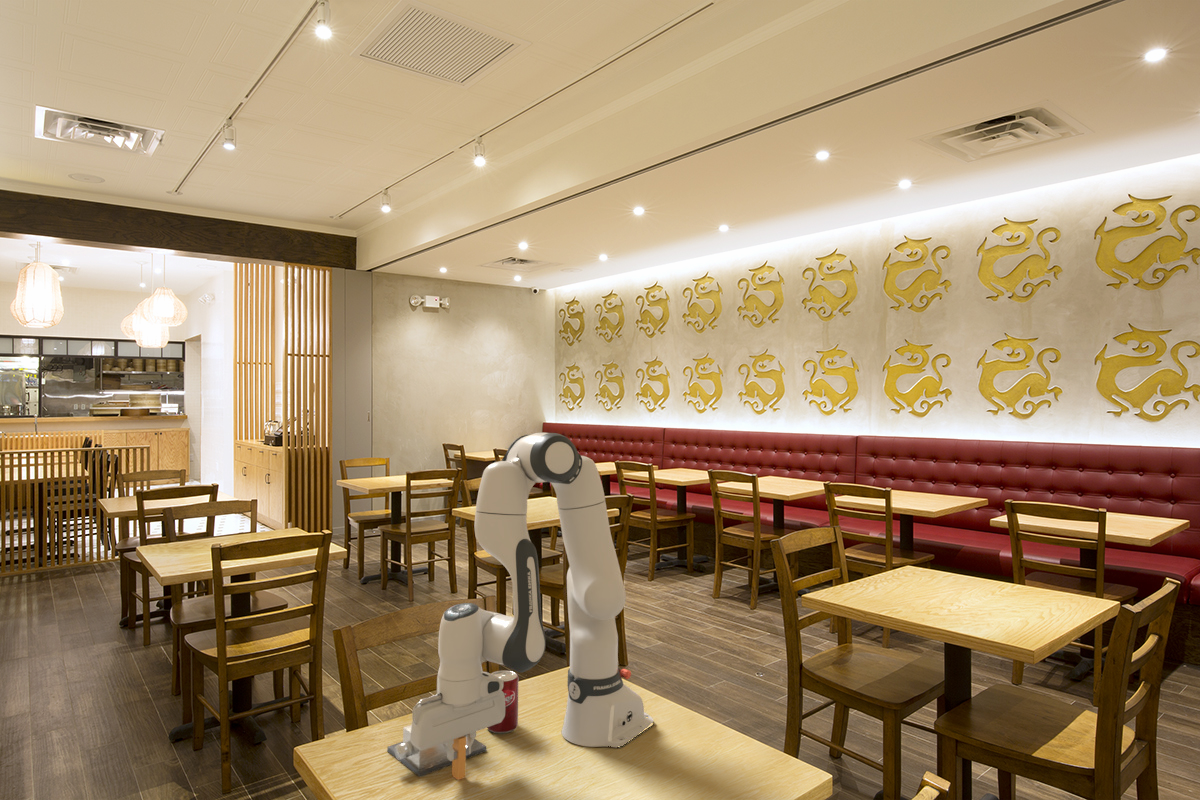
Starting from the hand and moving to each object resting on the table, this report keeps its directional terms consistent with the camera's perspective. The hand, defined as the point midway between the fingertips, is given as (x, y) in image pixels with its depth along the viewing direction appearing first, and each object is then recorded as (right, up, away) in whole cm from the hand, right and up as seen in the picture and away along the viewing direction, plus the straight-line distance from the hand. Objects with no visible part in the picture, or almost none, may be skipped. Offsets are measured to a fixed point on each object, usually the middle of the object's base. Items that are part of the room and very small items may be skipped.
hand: (459, 756), depth 139 cm
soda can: (+6, -5, +22) cm, 23 cm away
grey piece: (-7, -4, +10) cm, 13 cm away
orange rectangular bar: (0, -4, 0) cm, 4 cm away
